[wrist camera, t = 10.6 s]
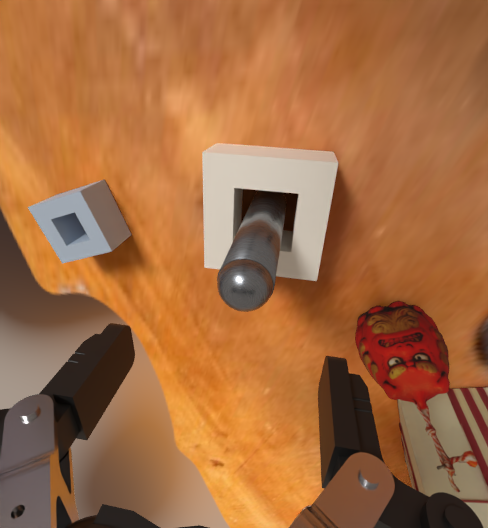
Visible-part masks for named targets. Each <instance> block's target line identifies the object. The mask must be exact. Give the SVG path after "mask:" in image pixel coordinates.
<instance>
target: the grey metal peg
mask: <svg viewBox="0 0 488 528" xmlns="http://www.w3.org/2000/svg"><path fill="white" fill-rule="evenodd" d="M286 207H287V201H286V198H285V196H284V194H283V193H282V192H274V191H263V190H259V191H258V192H257V193H256V194H255V195H254V197H253V200H252V202H251V204H250V206H249V208H248V210H247V212H246V215H245V217H244V219H243V221H242V223H241V225H240V228H239V230H238V232H237V234H236V236H235V238H234V241H233V243H232V245H231V247H230V249H229V251H228V253H227V256H226V258H225V260H224V262H223V264H222V266H221V269H220V271H219V273H218V277H217V285H218V291H219V294H220V296H221V298H222V300H223V301H224V302H225V303H226V304H227V305H228V306H229V307H231V308H233V309H235V310H238V311H242V312H248V311H253V310H256V309H258V308H260V307H262V306H263V305H264V304H265V303H266V302H267V301H268V300H269V298H270V297H271V295H272V293H273V290H274V285H275V278H276V272H277V265H278V259H279V252H280V246H281V239H282V233H283V226H284V220H285V213H286Z"/></svg>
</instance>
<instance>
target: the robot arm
mask: <svg viewBox="0 0 488 528" xmlns="http://www.w3.org/2000/svg"><path fill="white" fill-rule="evenodd" d="M134 358H135V351H134V345H133V340H132V333H131V328H130V327H129V326H127V325H120V324H113V323H111V324H109V325H108V326H107V327H106V328H105V329H104V331H103V332H102V333H101V334H95V335H93V336H92V337H90V338H89V339H87V340H86V341H84V342H83V343H82V344H81V346H80V347H79V348H78V349H77V350H76V351H75V354H73V355H72V356H71V357H70V358H69V360H68V362H66V363H65V364H64V366H63V367H62V368H61V369H60V370H59V371H58V373H57V374H56V375H55V376H54V377H53V378H52V380H51V381H50V382H49V383H48V384H47V385H46V387H45V388H44V389H43V390H42V391H41V392H40V393H39V394H37V395H32V396H29V397H26V398H24V399H22V400H20V401H19V402H18V403H16V404H15V405H14V406H13V407H12V408H10V409H2V410H0V528H160V527H158V526H156V525H155V524H153V523H152V522H150V521H148V520H147V519H145V518H144V517H142V516H140V515H139V514H137V513H136V512H134V511H131V510H126V509H122V508H117V507H113V506H108V505H104V504H102V506H101V508H100V510H99V513H98V514H97V515H94V516H90V517H86V518H83V519H80V520H79V517H78V512H77V508H76V504H75V495H74V482H73V467H72V453H71V448H70V447H71V445H72V443H73V442H74V440H75V439H76V438H78V439H83V440H88V438H89V436H90V435H91V433H92V431H93V430H94V428H95V426H96V425H97V423H98V421H99V420H100V418H101V417H102V415H103V413H104V412H105V410H106V408H107V407H108V405H109V403H110V402H111V400H112V398H113V397H114V395H115V394H116V392H117V390H118V389H119V387H120V385H121V384H122V382H123V380H124V379H125V377H126V375H127V374H128V372H129V370H130V369H131V367H132V365H133V362H134ZM318 407H319V431H320V454H321V478H322V488H325V489H324V490H323V491H322V493H321V494H320V495H319V497H318V498H317V499H316V501H315V502H314V503H313V504H312V505H311V506H310V507H309V506H308V507H306V508H305V509H304V510H303V511H302V512H301V513H300V514H299V515H298V517H297V518H296V519H295V520H294V522H293V523H292V524H291V526H290V527H289V528H483V525H482V523H481V521H480V520H479V518H478V516H477V515H476V514H475V512H474V511H473V510H472V509H471V508H470V507H469V506H468V505H467V504H466V503H465V502H463V501H462V500H461V499H459V498H457V497H456V496H454V495H451V494H448V493H444V492H438V493H434V494H432V495H431V496H430V497H429V496H427V495H425V494H423V493H421V492H419V491H417V490H415V489H413V488H411V487H409V486H407V485H406V484H404V483H402V482H401V481H400V480H398V479H397V478H396V477H395V476H394V475H393V474H392V473H391V472H390V470H389V469H388V467H387V466H386V465H385V463H384V461H383V458H382V455H381V451H380V446H379V441H378V436H377V431H376V426H375V422H374V417H373V414H372V407H371V403H370V397H369V392H368V387H367V386H366V384H365V383H364V381H363V380H362V378H361V377H360V375H356V374H349V372H348V366H347V360H346V359H345V358H338V357H331V356H326V357H325V361H324V365H323V369H322V374H321V378H320V382H319V390H318ZM180 528H208V527H204V526H190V527H180Z"/></svg>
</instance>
